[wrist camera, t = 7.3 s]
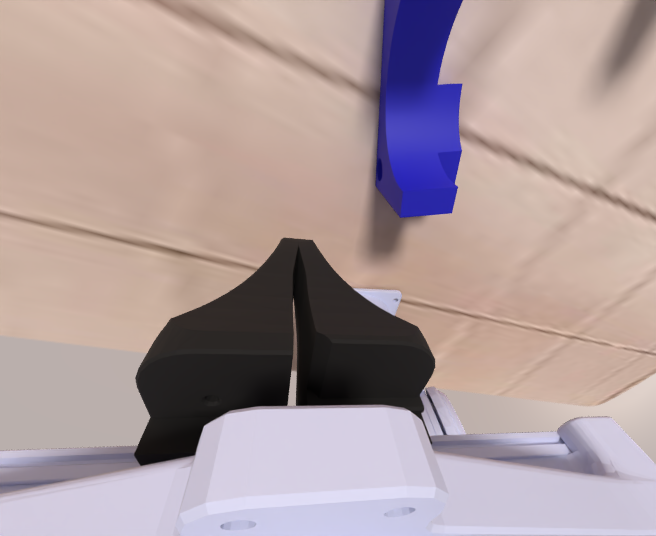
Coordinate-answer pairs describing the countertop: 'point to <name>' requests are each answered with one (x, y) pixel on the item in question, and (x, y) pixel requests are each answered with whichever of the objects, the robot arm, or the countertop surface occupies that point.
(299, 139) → the countertop surface
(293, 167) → the countertop surface
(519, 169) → the countertop surface
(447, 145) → the cable clip
